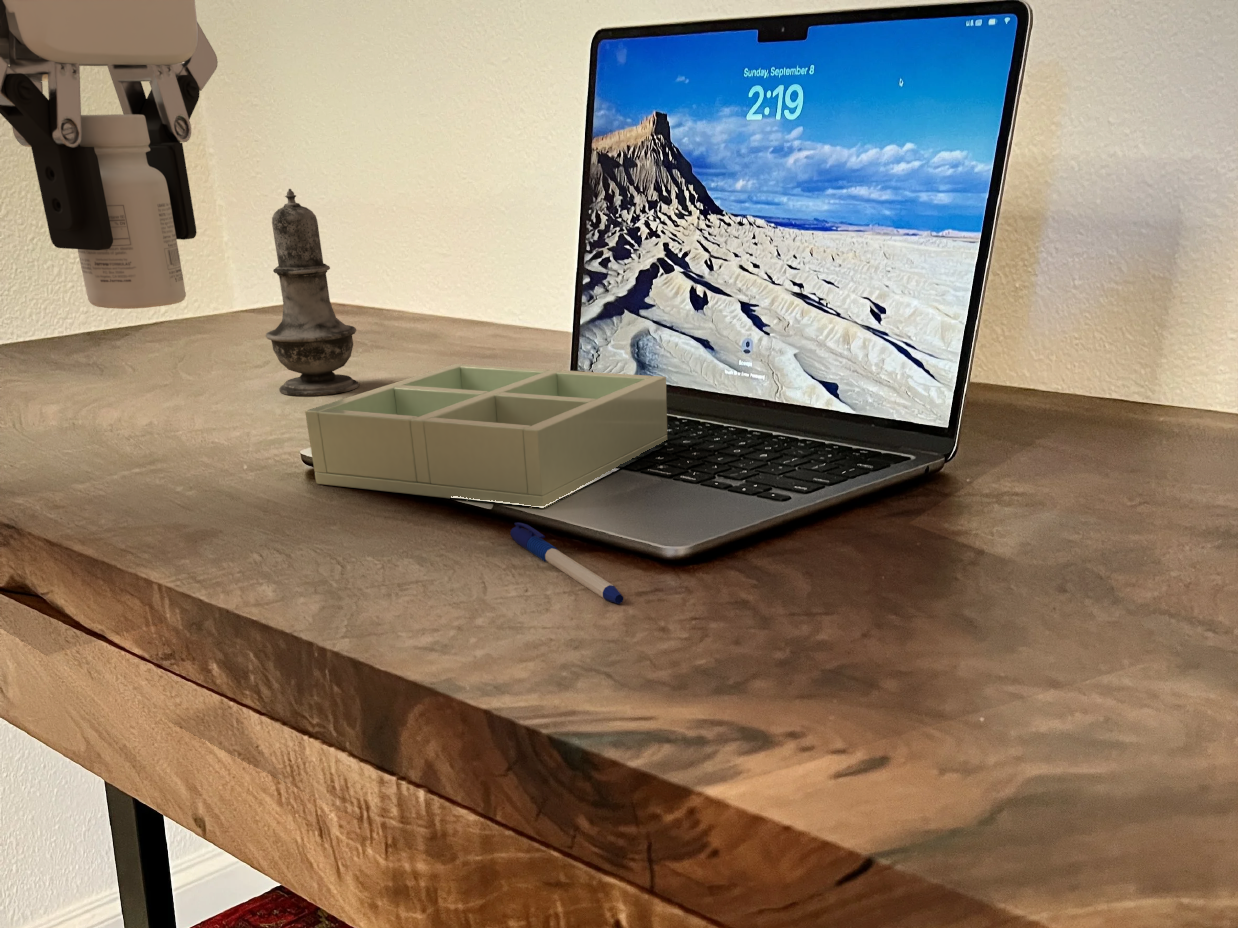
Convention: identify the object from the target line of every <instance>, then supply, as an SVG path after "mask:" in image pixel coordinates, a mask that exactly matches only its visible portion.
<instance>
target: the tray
mask: <svg viewBox="0 0 1238 928" xmlns="http://www.w3.org/2000/svg"><path fill="white" fill-rule="evenodd" d="M667 400H668V399H667V377H666V376H661V375H646V374H645V375H644V374H628V373H613V372H612V373H611V372H610V373H609V372H595V371H581V370H561V369H547V368H533V367H519V366H518V367H517V366H502V365H501V366H498V365H483V364H468V363H453V364H449V365H447V366H443V367H439V368H437V369H434V370H431V371H428V372H425V373H421V374H418V375H415V376H412V377H409V378H405V379H403V380H399V381H396V382H392V383H390V384H385V385H383V386H380V387H377V388H374V389H371V390H367V391H364V392H361V393H357V394H354V395H351V396H348V397H345V398H342V399H339V400H336V401H332V402H329V403H326V404H321V405H319V406H315V407H312V408H309V409H307V410H305V411H304V413H305V419H306V425H307V432H308V439H309V440H308V441H309V446H310V452H311V459H312V464H313V471H314V478H315V483H316V484H317V485H325V486H332V487H333V486H334V487H342V488H351V489H359V490H360V489H361V490H368V491H369V490H370V491H379V492H389V493H397V494H407V495H414V496H423V497H424V496H425V497H433V498H441V499H450V498H451V496H452V497H453V496H458V497H460V496H461V497H464V498H466V497H467V498H468V499H469V498H471V499H473V498H474V499H480V500H490V501H491V500H493V501H495V500H496V501H503V502H510V503H519V504H524V505H531V506H545V505H546V504H549V503H550V502H553V501H555V500H556V499H559V497H562V496H564V495H566V494H568V493H570V492H571V491H574V490H576V489H577V488H579V487H580V486H582V485H585V484H586V483H588V482H590V481H592V480H594V479H595V478H597V477H600V476H601V475H602V474H605V473H606V472H608V471H611V470H612V469H614V468H616V467H618V466H619V465H620V464H623V463H625V462H627V461H629V460H631V459H632V458H635V457H636V456H639V455H640V454H641V453H643V452H645V451H647V450H649V449H651V448H653V447H655V446H656V445H659V444H661V443H662V442H664V441H666V440H668V439H669V438H668V405H667V404H668V401H667Z"/></svg>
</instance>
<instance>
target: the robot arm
mask: <svg viewBox="0 0 1238 928" xmlns="http://www.w3.org/2000/svg"><path fill="white" fill-rule="evenodd" d="M196 9H197V7H196V1H195V0H0V115H1V116H2V117H3V118H4V119H5V121H6V122H8V123H9V125H10V126H11V127H12V133H13V135H14V138H15V140H16V141H17V143H19V144H20V145H21V146H23V147H26V148H31V153H32V159H33V163H34V167H35V172H36V176H37V181H38V186H39V191H40V195H41V200H42V204H43V209H44V214H45V219H46V225H47V228H48V233H49V237H50V241H51V243H52V245H53V246H54V248H55V247H56V249H57V248H58V249H68V250H78V249H84V250H105V249H109V248H111V246H112V243H113V236H112V231H111V226H110V220H109V215H108V210H107V205H106V199H105V194H104V189H103V184H102V178H101V173H100V168H99V163H98V158H97V155H96V153H95V149H94V147H80V141H81V136H82V130H81V115H82V102H81V74H80V73H81V71H80V70H81V69H80V67H107V69H108V72H109V75H110V78H111V81H112V84H113V87H114V91H115V93H116V96H117V99H118V102H119V105H120V108H121V110H122V114H139V115H144V116H145V119H146V124H147V129H148V134H149V139H150V144H149V145H148V147H149V148H150V151H148V152H146V158H147V163H148V165H149V166H150V167H153V168H155V169H157V170H159V171H160V172H161V173H162V174H163V175H164V177H165V179H166V182H167V187H168V192H169V197H170V203H171V209H172V216H173V222H174V227H175V233H176V239H177V240H180V241H181V240H182V241H184V240H192V239H194V238H196V236H197V233H198V232H197V225H196V219H195V213H194V212H195V211H194V205H193V199H192V194H191V188H190V182H189V181H190V180H189V176H188V170H187V163H186V156H185V151H184V145H183V143H188V142H189V140H190V139H191V136H192V125H191V121H190V120H191V118H192V116H193V115H192V114H193V113H194V111H195V108H196V106H197V104H198V102H199V99H200V93H201V91H203V90H204V88H205V87H206V85H207V83H209V80H210V79H211V78H212V77H213V75H214V73H215V72H216V70H217V68H218V62H219V61H218V57H217V54H216V52H215V50H214V48H213V46H212V45H211V43H210V41H209V39H208V38H207V36H206V34H205V33H204V30H203V29H202V27H201V26H200V24H199V22H198V17H197V10H196ZM43 82H47V90H48V91H47V92H48V97H47V96H46V95H45V93H44V91H43V89H44V88H43ZM142 82H149V86H150V90H149V92H148V95H147V96H146V93H145V89H144V86H143V83H142Z"/></svg>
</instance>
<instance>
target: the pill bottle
mask: <svg viewBox="0 0 1238 928" xmlns="http://www.w3.org/2000/svg"><path fill="white" fill-rule="evenodd" d="M81 130H82V136H81V141H80V147H94V149H95V153H96V155H97V158H98V163H99V168H100V173H101V178H102V184H103V189H104V194H105V199H106V205H107V210H108V215H109V220H110V226H111V231H112V236H113V243H112V246H111V248H109V249H105V250H84V249H77V253H78V258H79V264H80V268H81V274H82V277H83V283H84V288H85V291H86V296H87V299H88V302H89V304H91V305H92V306H94V307H98V308H104V309H116V310H117V309H118V310H119V309H122V310H126V309H127V310H132V309H133V310H135V309H147V308H157V307H165V306H171V305H176V304H179V303H182V302H183V301H184V300H185V299H186V296H187V294H186V287H185V280H184V275H183V274H184V273H183V270H182V264H181V263H182V262H181V258H180V257H181V256H180V251H179V247H178V239H176V233H175V227H174V222H173V216H172V209H171V203H170V197H169V192H168V187H167V182H166V179H165V177H164V175H163V174H162V173H161V172H160V171H159V170H157V169H155V168H153V167H150V166H149V165H148V163H147V158H146V152H148V151H150V148H149V147H148V145H149V144H150V139H149V134H148V129H147V124H146V119H145V116H144V115H139V114H123V113H122V114H120V113H119V114H118V113H117V114H116V113H115V114H112V113H111V114H81Z"/></svg>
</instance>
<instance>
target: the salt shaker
mask: <svg viewBox="0 0 1238 928" xmlns="http://www.w3.org/2000/svg"><path fill="white" fill-rule="evenodd" d="M284 197H285V198H286V199H287V203H284V205H283V206H282V207H280V208H278V209H277V210H275V211H274V213H273V215H272V217H271V226H272V232H273V233H272V234H273V239H274V245H275V252H276V258H277V265H278V266H276V267H275V268H273V271H272V272H273V273H274V274H276V275H277V276H278V279H279V285H280V291H281V298H282V318H281V322H279V324H278V325H277V326H276V328H275V329H272V330H269V331H267V332H266V333H265V338H266V339H267V340H269V341H271V346H272V351H273V353H274V354H275V356H276V358H277V360H278V361H279V363H280V364H281V365H282V366H284V368H286V369H287V370H288V371H290V372H294V373H298V374H300V376H297V377H293V378H290V379H287V380H286V381H284V384H282V385H280V387H279V388H278V391H279V392H280V393H281V394H283V395H287V396H295V397H297V396H298V397H311V396H312V397H314V396H315V397H316V396H327V395H328V396H329V395H335V394H341V393H345V392H350V391H353V390H355V389H358V388H360V387H359V386H360V383H359V382H358V381H357V380H356V379H353V378H352V377H351V376H350V375H347V374H338V373H335V372H334V371H337V370H339V369H341V368H343V367H344V366H346V364H347V363H348V361H349V360H350V358H351V357H352V353H353V349H354V348H353V347H354V339H353V335H355V334H356V332H357V328H356V327H355V326H353V325H350V324H345V323H344V322H343V321H341V320H340V319H339V318H338V317H337V315H336V314H335V311H334V308H333V305H332V302H331V298H330V292H329V286H328V285H329V284H328V278H327V277H328V276H327V273H328V271H330V270H331V266H330V265H328V264H326V263H324V258H323V251H322V244H321V237H320V230H319V223H318V219H317V215H316V214H315V213H314V211H312V210H311V209H309V208H308V207H306V206H302V205H301V204H300V203H298V202H296V197H297V195H296V194H295V192H294V191H293V190H292V189H291V188H288V191H286V195H284Z"/></svg>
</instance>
